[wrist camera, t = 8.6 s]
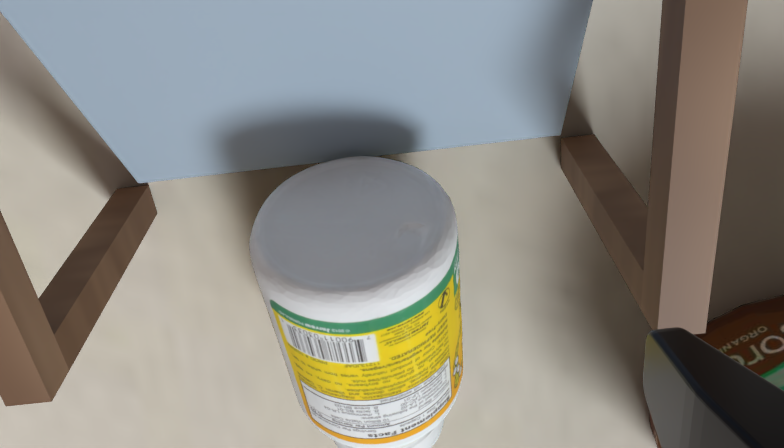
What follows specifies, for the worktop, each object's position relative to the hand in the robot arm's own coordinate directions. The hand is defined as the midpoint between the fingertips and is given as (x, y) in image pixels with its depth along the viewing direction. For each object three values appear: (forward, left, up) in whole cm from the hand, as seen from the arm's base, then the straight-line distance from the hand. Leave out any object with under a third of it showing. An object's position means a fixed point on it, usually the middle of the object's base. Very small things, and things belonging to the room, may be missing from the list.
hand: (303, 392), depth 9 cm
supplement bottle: (0, +2, -8) cm, 9 cm away
